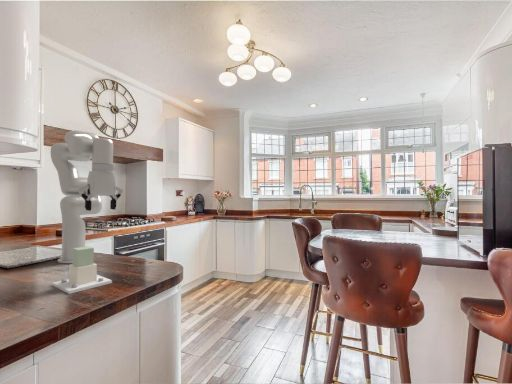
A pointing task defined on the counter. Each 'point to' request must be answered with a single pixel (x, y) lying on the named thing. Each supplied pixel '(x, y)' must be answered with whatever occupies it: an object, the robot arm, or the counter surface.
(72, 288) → the plate
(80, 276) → the cream block
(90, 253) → the sage block
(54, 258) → the counter surface
